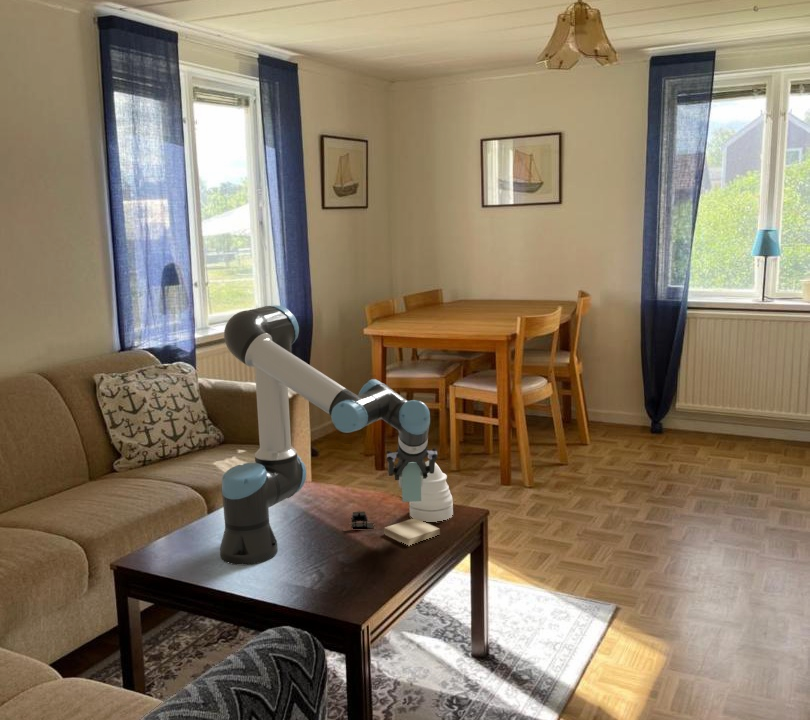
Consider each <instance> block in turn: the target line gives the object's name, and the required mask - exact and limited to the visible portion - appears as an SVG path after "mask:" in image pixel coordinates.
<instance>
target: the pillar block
mask: <svg viewBox="0 0 810 720" xmlns="http://www.w3.org/2000/svg"><path fill="white" fill-rule="evenodd" d="M401 497H402V502H403V503H409V502H414V501H421V472H420V467H419V465H417V463H416V462H410V463H408V464H407V466H405V468H404V469H403V471H402V487H401Z"/></svg>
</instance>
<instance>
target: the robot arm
mask: <svg viewBox="0 0 810 720" xmlns="http://www.w3.org/2000/svg"><path fill="white" fill-rule="evenodd" d="M223 331H224V333H223V338H224V343H225V345H226V347H227V350H228V351H229V352H230V354H231V355H232V356H234V357H235V358H236V359H237V360H238V361H240V362H241V363H243V364H244V365H246V366H247V367H249V368H254V374H255V377H254V378H255V392H256V408H257V421H258V422H257V423H258V439H259V440H258V441H259V448H258V449H257V450H256V452H255V453H254V462H247V463H243V464H238V465H235V466H232V467H230V468H229V469H228V470H226V471H225V472H224V474H223V476H222V479H221V494H222V495H221V496H222V506H223V517H224V518H223V519H224V531H223V535H222V538H221V539H222V540H221V543H220V547H219V553H220V554H219V555H220V559H221V560H222V561H223V560H224V561H223V562H225V561H226V562H225V563H227V562H229V563H228V564H231V563H232V564H231V565H237V564H247V565H255V564H258V563H263V562H266V561H268V560H270V559H272V558H274V557H275V556H276V555H277V554H278V541H277V538H276V536H275V534H274V531H273V529H272V525H271V523H270V515H269V510H270V509H269V508H271V507H273V506H274V505H276V504H279V503H281V502H283V501H284V500H286V499H289V498H292V497H293V496H294V495H295V494H297V493H298V492H299V491H301V489H302V488H303V487H304V485H305V483H306V480H307V469H306V468H307V467H306V464H305V462H304V461H302V458H301V457H300V456H299V455H298V451H297V449H295V448H294V447H293V446H292V441H291V440H292V438H291V436H292V435H291V421H290V420H291V418H290V403H289V401H290V400H289V389H290V390H292V391H293V392H295V393H296V394H298V395H299V396H301V397H302V398H303V399H305V400H306V401H308V402H309V403H311V404H313V405H314V406H316V407H318V408H319V409H321V410H323V412H325V413H327V414H328V415H329V416H331V417H330V418H331V422H332V424H333V425H334V426H335V428H336V429H337V430H338V431H339V432H340V433H341V432H342V433H348V434H349V433H353V432H357V431H360V430H361V429H363V428H365V427H367V426H369V425H370V424H372V423H375V422H377V421H380V420H382V421H384V422H385V423H386V424H388V425H389V426H390V427H393V428H394V429H396V430H397V431H398V442H397V445H398V447H397V449H396V451H395V452H393V451H391V450H387V451H386V460H387V462H388V463H387V469H388V470H387V471H388V476H389V477H392V476H394V480H395V481H398V488H402V471H403V469H404V468H405V466H407V464H408V463H410V462H416V463H417V465H419V467H420V472H421V486H422V482H423V479H426V478H427V477H428V476H427V473H429V472H430V473H431V474H433V473H434V467H435V463H436V461H437V459H438V458H439V457H438V449H437V448H435V447H434V448H433V449H431V450H429V449H428V442H429V441H428V440H429V430H430V425H431V414H430V413H431V412H430V409H429V407H428V406H427V405H426V403H425V402H423V401H421V400H416V399H411V400H408V399H407V398H404V397H403V396H402V395H400V394H399V393H397V392H396V391H395V390H393V389H392V388H391V387H389V385H387V384H385V383H383V382H381V381H379V380H378V379H375V378H372V379H370V380H368V381H367V383H365V384H363V386H362V387H361V389H360V391H359V392H358V394H356V393H355V392H352V391H351V390H349V389H348V388H346V387H344V386H343V385H341V384H340V383H338V382H337V381H335V380H334V379H332V378H330V377H329V376H327V375H326V374H324V373H323V372H321V371H320V370H318V369H317V368H315V367H314V366H312V365H310V364H308V363H307V362H306V361H304V360H302V359H301V358H300V357H298V356H296V355H295V354H294V353H292V345H293V344H294V343H295V342H296V340H298V337H299V332H300V327H299V323H298V321H297V318H296V316H295V315H294V313H292V312H291V311H290V310H289V309H288V308H287V307H285V306H281V305H276V304H275V305H265V306H261V307H257V308H252V309H249V310H248V309H247V310H242V311H239V312H236V314H233V315H232V316H231V317H230V318H229V319H228V321H227V322H226V325H225V326H224V330H223ZM428 456H429V458H428ZM396 458H397V459H398V461H397V463H396V464H395V461H396ZM426 458H428V459H429V466H426V464H425V462H426V461H425V459H426Z"/></svg>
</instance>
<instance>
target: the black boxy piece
mask: <svg viewBox="0 0 810 720" xmlns="http://www.w3.org/2000/svg"><path fill="white" fill-rule="evenodd" d="M350 518H351V523H350V524H351V525H352V526H351V528H353V529H374V526H375V525H374V526H373V524H374V523H373V522H372V523H370V522H368V519H369V518H368V516H367V514H366V511H353V512H352V515H351V517H350Z"/></svg>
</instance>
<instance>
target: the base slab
mask: <svg viewBox="0 0 810 720" xmlns="http://www.w3.org/2000/svg"><path fill="white" fill-rule="evenodd" d="M440 530H441V529H440V527H437V526H435V525H433V524H431V523H426V522H423V521H421V520H419V519H416V518H413V519H412V518H410V519H407V520H403V521H400V522H397V523H395V524H391V525H388V526H385V527H383V531H384V532H383V533H384V534H385V536H387V537H389V538H391V539H393V540H395V541H397V542H398V543H401V542H402V543H401V544H403V543H404V544H403V545H405V544H406V545H405V546H407V545H408V546H407V547H411V546H413V545H412V544H414V545H416V544H415V543H417V544H419V543H418V542H420V541H423V540H426V539H428V540H430V539H429V538H431V539H433V538H432V537H434V538H436V537H435V536H437V535H440V536H441V531H440ZM437 537H438V536H437ZM426 541H427V540H426ZM423 542H424V541H423ZM420 543H421V542H420ZM410 545H411V546H410Z"/></svg>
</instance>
